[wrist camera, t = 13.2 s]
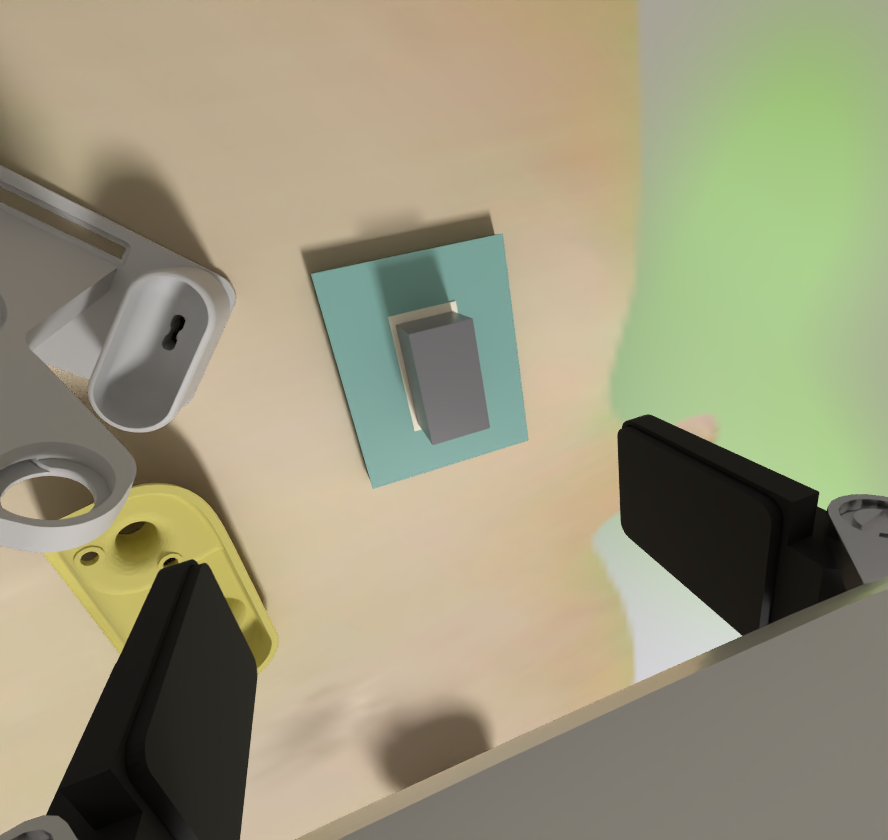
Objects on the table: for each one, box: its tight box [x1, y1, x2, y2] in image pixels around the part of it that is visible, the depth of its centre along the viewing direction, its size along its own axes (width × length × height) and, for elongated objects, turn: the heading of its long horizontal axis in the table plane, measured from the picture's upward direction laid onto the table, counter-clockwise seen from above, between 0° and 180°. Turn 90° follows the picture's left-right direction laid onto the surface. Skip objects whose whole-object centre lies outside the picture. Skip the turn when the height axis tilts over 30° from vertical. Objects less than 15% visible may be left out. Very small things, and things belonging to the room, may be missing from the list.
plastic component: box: [43, 483, 279, 674], centre depth 34 cm, size 20×7×10 cm
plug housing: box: [396, 311, 490, 445], centre depth 33 cm, size 4×8×4 cm, turn 11°
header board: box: [311, 234, 528, 489], centre depth 34 cm, size 14×17×4 cm
